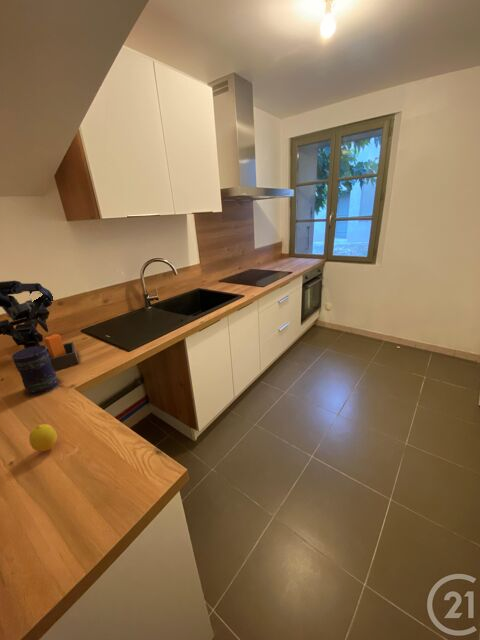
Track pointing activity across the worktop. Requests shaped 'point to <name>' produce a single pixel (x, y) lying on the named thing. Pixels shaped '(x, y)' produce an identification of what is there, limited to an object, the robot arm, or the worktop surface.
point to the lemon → (42, 437)
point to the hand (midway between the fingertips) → (36, 335)
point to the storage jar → (35, 370)
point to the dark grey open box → (65, 358)
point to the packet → (55, 345)
